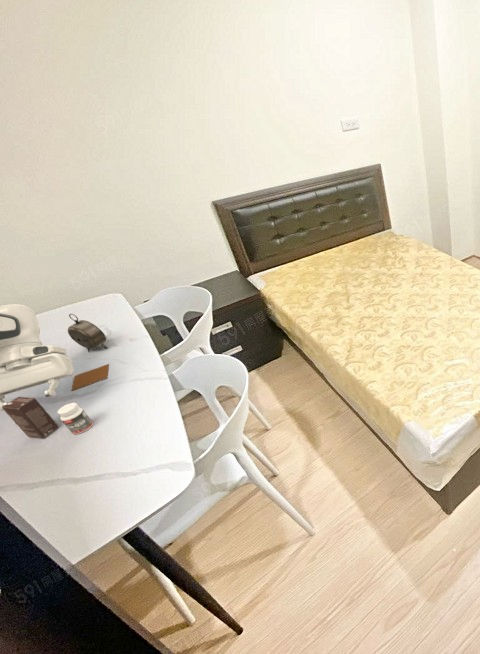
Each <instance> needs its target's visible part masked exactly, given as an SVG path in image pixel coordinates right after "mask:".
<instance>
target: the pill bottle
mask: <svg viewBox="0 0 480 654" xmlns="http://www.w3.org/2000/svg"><path fill="white" fill-rule="evenodd" d="M57 414H58V415H59V416H60V417H59V419H60V421H61V422H62V423H63V424H64V425H65V427H66V428H67V429H68V430H69V432H70V433H71V434H73V435H79V434H82V433H85V432H87V431H88V430H90V429H91V428H92V426H93V425H94V422H93V420H92V419H91V418H90V416H89V415H88V414H87V412H85V410H84V409H83V408H82V407H80V406H79V405H78V404H77V403H76V402H71V403H70V402H69V403H67V404H64V405H63V406H61V407H60V408H59V409H58V410H57Z"/></svg>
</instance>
